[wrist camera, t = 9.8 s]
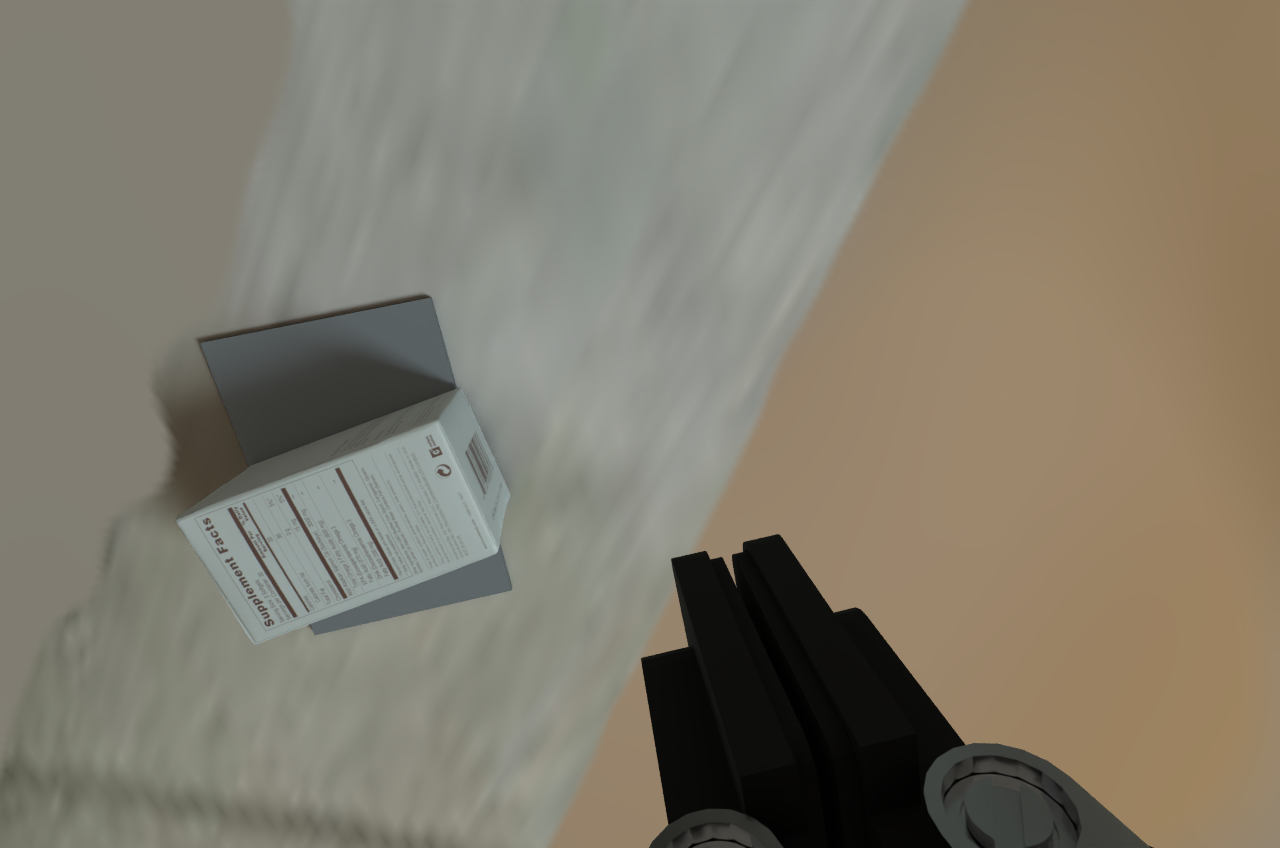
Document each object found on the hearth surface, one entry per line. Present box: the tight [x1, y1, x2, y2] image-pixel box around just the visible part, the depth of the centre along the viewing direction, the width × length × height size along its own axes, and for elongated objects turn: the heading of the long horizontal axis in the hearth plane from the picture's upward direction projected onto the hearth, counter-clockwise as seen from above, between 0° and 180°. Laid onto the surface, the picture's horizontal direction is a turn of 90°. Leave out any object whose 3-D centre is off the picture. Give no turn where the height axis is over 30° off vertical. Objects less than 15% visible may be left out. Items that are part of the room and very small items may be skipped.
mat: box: [200, 297, 512, 635], centre depth 36 cm, size 12×18×1 cm, turn 11°
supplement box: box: [176, 388, 511, 645], centre depth 32 cm, size 7×7×13 cm
